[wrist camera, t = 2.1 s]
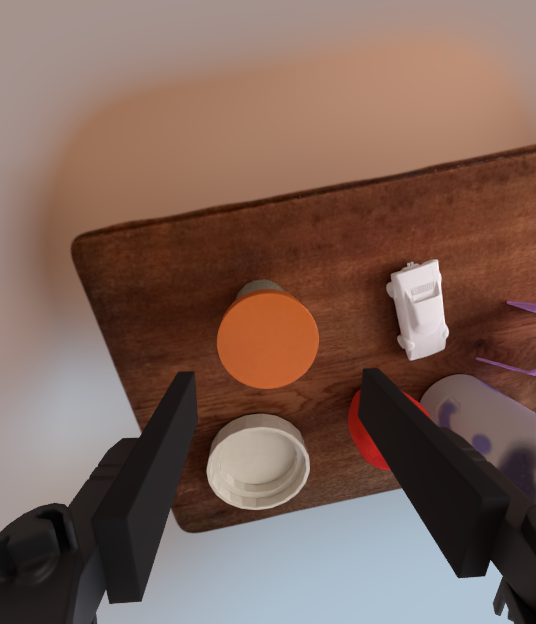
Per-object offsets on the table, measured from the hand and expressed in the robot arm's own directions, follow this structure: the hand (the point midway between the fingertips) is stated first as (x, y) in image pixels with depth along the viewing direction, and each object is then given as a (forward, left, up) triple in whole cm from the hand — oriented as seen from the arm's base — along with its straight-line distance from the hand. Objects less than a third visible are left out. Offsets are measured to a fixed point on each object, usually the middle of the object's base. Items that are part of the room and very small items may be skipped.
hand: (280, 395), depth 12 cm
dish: (+10, -18, -17) cm, 27 cm away
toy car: (+16, +9, -18) cm, 25 cm away
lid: (0, 0, -7) cm, 7 cm away
